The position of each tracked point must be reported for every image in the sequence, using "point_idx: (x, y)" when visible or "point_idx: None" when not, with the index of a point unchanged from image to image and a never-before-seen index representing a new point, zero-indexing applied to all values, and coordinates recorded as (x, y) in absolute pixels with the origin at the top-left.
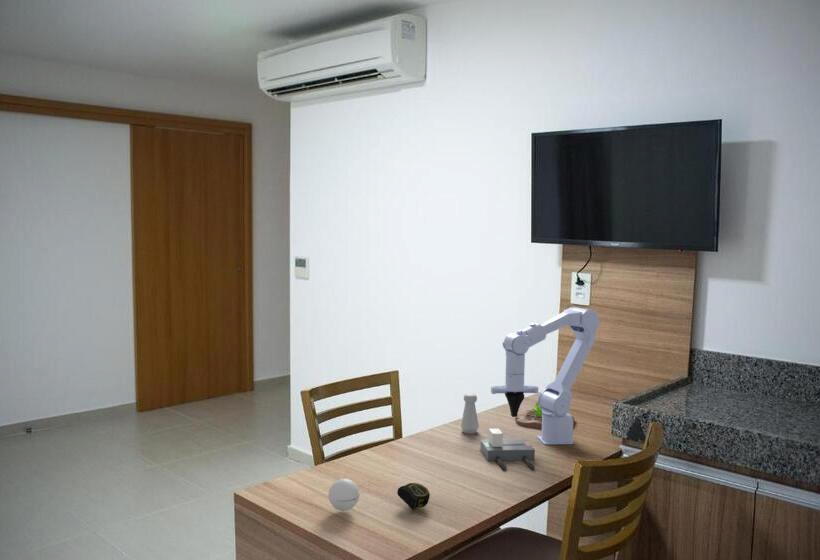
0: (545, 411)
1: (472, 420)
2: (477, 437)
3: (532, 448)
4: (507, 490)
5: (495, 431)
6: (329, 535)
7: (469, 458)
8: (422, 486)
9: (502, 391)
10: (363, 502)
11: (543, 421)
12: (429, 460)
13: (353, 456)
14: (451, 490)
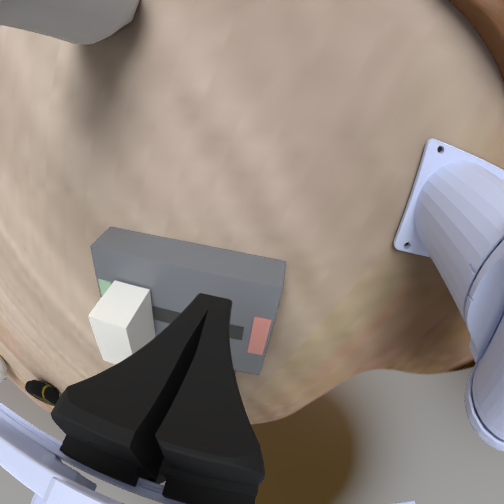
0: (491, 295)
1: (67, 34)
2: (126, 69)
3: (256, 367)
4: None
5: (111, 348)
6: (15, 383)
7: (81, 285)
8: (44, 399)
9: (40, 448)
10: (6, 355)
11: (451, 260)
12: (14, 267)
13: None
14: (74, 380)
